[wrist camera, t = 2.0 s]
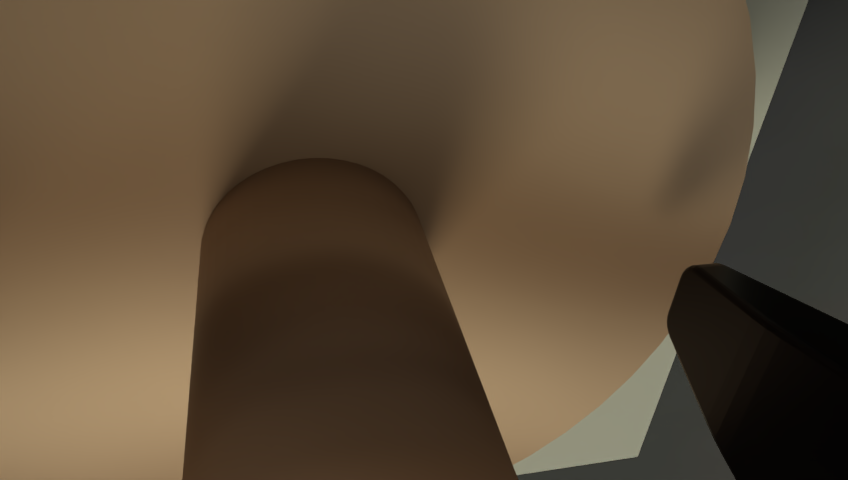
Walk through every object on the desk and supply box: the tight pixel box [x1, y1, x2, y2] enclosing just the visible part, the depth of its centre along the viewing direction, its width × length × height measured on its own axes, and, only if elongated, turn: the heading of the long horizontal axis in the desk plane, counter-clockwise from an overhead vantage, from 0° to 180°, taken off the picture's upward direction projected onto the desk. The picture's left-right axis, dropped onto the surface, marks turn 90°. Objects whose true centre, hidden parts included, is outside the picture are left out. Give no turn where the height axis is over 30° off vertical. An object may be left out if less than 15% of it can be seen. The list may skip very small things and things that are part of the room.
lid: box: [0, 0, 756, 480], centre depth 8 cm, size 12×12×5 cm
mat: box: [513, 0, 808, 475], centre depth 10 cm, size 14×14×1 cm
